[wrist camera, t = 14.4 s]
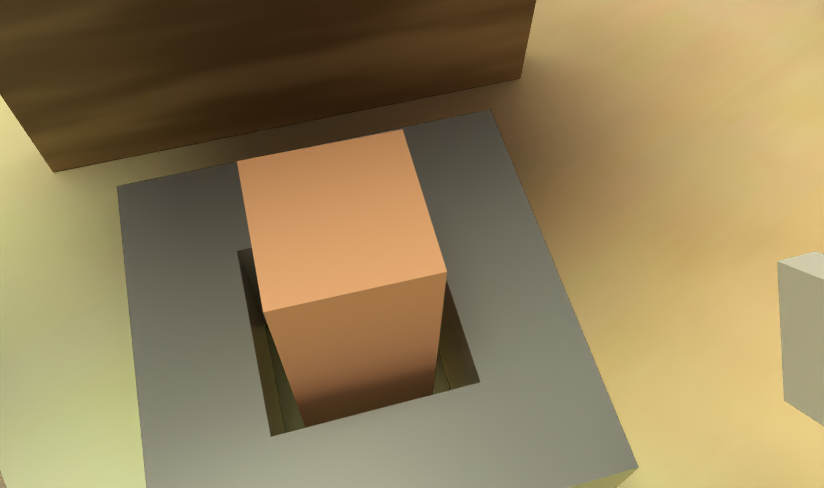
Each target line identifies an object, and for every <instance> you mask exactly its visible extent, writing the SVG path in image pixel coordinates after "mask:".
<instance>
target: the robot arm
mask: <svg viewBox="0 0 824 488" xmlns="http://www.w3.org/2000/svg"><path fill="white" fill-rule="evenodd" d="M777 266H778V286H779V307H780V327H781V348H782V368H783V388H784V401H786V402H787V403H789V404H790V405H792V406H793V407H795V408H796V409H798V410H800V411H801V412H803V413H804V414H806V415H807V416H809V417H810V418H812V419H813V420H815V421H816V422H818V423H819V424H821V425H823V426H824V254H822V253H819V252H816V251H815V252H811V253H807V254H803V255H799V256H795V257H792V258H788V259H784V260H780V261H777ZM0 488H6V485H5V483H4V480H3V477H2V475H1V472H0Z"/></svg>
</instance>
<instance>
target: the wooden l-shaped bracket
mask: <svg viewBox="0 0 824 488" xmlns="http://www.w3.org/2000/svg"><path fill="white" fill-rule="evenodd" d="M535 3H536V0H0V95H1V96H2V98H3V99H4V101H5V102H6V103H7V105H8V106H9V108H10V109H11V111H12V112H13V114H14V115H15V117H16V118H17V120H18V121H19V123H20V124H21V126H22V127H23V129H24V130H25V131H26V133H27V134H28V136H29V137H30V139H31V140H32V142H33V143H34V145H35V146H36V148H37V149H38V151H39V152H40V154H41V155H42V157H43V158H44V159H45V161H46V162H47V164H48V165H49V167H50V168H51V170H52V171H53V172H56V171H61V170H66V169H71V168H76V167H81V166H86V165H91V164H96V163H101V162H106V161H111V160H116V159H120V158H125V157H130V156H135V155H140V154H145V153H150V152H155V151H160V150H165V149H170V148H175V147H180V146H185V145H190V144H195V143H200V142H205V141H210V140H215V139H220V138H225V137H230V136H235V135H240V134H245V133H250V132H255V131H260V130H265V129H270V128H275V127H280V126H285V125H290V124H295V123H300V122H304V121H309V120H314V119H319V118H324V117H329V116H334V115H339V114H344V113H349V112H354V111H359V110H364V109H369V108H374V107H379V106H384V105H389V104H394V103H399V102H404V101H409V100H414V99H419V98H424V97H429V96H434V95H439V94H444V93H449V92H454V91H459V90H464V89H469V88H474V87H479V86H484V85H488V84H493V83H498V82H503V81H508V80H513V79H518V78H520V77H521V72H522V67H523V62H524V58H525V53H526V48H527V43H528V38H529V33H530V28H531V23H532V18H533V13H534V8H535Z"/></svg>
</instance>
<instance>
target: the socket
mask: <svg viewBox="0 0 824 488" xmlns="http://www.w3.org/2000/svg"><path fill="white" fill-rule="evenodd" d="M401 129H403V132H404V136H405V139H406V142H407V145H408V148H409V152H410V155H411V158H412V161H413V164H414V168H415V171H416V174H417V177H418V180H419V183H420V187H421V190H422V193H423V196H424V199H425V203H426V206H427V209H428V212H429V215H430V219H431V222H432V225H433V228H434V231H435V235H436V238H437V241H438V244H439V247H440V251H441V254H442V257H443V260H444V263H445V266H446V270H447V277H446V285H445V294H444V302H443V311H442V319H441V327H440V336H439V344H438V350H439V353H440V357H441V360H442V363H443V366H444V369H445V373H446V376H447V379H448V382H449V386H450V389H451V390H449V391H445V392H441V393H437V394H434V395H430V396H426V397H422V398H418V399H414V400H410V401H407V402H403V403H399V404H395V405H391V406H387V407H383V408H380V409H376V410H372V411H368V412H364V413H360V414H357V415H353V416H349V417H345V418H341V419H337V420H333V421H330V422H326V423H322V424H318V425H314V426H310V427H307V428H303V429H299V430H295V431H291V432H287V433H285V428H284V423H283V418H282V413H281V408H280V402H279V397H278V392H277V387H276V382H275V376H274V371H273V366H272V361H271V356H270V350H269V345H268V340H267V335H266V330H265V324H267V321H266V319H265V316H264V313H263V308H262V303H261V297H260V291H259V285H258V280H257V274H256V268H255V262H254V257H253V251H252V245H251V239H250V234H249V228H248V222H247V216H246V211H245V205H244V199H243V193H242V188H241V182H240V176H239V170H238V165H237V162H232V163H228V164H223V165H218V166H213V167H208V168H203V169H198V170H194V171H189V172H184V173H179V174H174V175H169V176H164V177H160V178H155V179H150V180H145V181H140V182H135V183H130V184H126V185H121V186H117V192H118V202H119V212H120V222H121V232H122V243H123V253H124V263H125V273H126V283H127V294H128V304H129V314H130V324H131V334H132V344H133V355H134V365H135V375H136V385H137V395H138V406H139V416H140V426H141V436H142V446H143V457H144V467H145V477H146V487H147V488H616V487H617V486H618V485H620V484H621V483H622V482H623V481H624V480H625V479H626V478H627V477H629V476H630V475H631V474H632V473H633V472H634V471H635V470H636V469H638V468H639V467H638V465H637V462H636V460H635V457H634V455H633V453H632V450H631V448H630V445H629V443H628V440H627V438H626V436H625V433H624V431H623V428H622V426H621V424H620V421H619V419H618V416H617V414H616V411H615V409H614V407H613V404H612V402H611V399H610V397H609V395H608V392H607V390H606V387H605V385H604V382H603V380H602V378H601V375H600V373H599V370H598V368H597V366H596V363H595V361H594V358H593V356H592V354H591V351H590V349H589V346H588V344H587V341H586V339H585V337H584V334H583V332H582V329H581V327H580V325H579V322H578V320H577V317H576V315H575V312H574V310H573V308H572V305H571V303H570V300H569V298H568V296H567V293H566V291H565V288H564V286H563V283H562V281H561V279H560V276H559V274H558V271H557V269H556V267H555V264H554V262H553V259H552V257H551V255H550V252H549V250H548V247H547V245H546V242H545V240H544V238H543V235H542V233H541V230H540V228H539V226H538V223H537V221H536V218H535V216H534V213H533V211H532V209H531V206H530V204H529V201H528V199H527V197H526V194H525V192H524V189H523V187H522V184H521V182H520V180H519V177H518V175H517V172H516V170H515V168H514V165H513V163H512V160H511V158H510V156H509V153H508V151H507V148H506V146H505V143H504V141H503V139H502V136H501V134H500V131H499V129H498V127H497V124H496V122H495V119H494V117H493V114H492V112H491V110H485V111H480V112H475V113H470V114H465V115H460V116H456V117H451V118H446V119H441V120H436V121H431V122H426V123H422V124H417V125H412V126H407V127H402V128H397V129H392V130H388V131H383V132H378V133H373V134H368V135H363V136H359V137H354V138H360V137H365V136H370V135H375V134H380V133H386V132H391V131H396V130H401ZM354 138H349V139H354ZM349 139H344V140H349ZM344 140H339V141H344ZM339 141H334V142H339ZM334 142H329V143H334ZM325 144H328V143H325ZM320 145H323V144H320ZM315 146H318V145H315ZM310 147H313V146H310ZM305 148H308V147H305ZM300 149H302V148H300ZM295 150H297V149H295ZM291 151H292V150H291ZM286 152H287V151H286ZM281 153H282V152H281ZM276 154H277V153H276Z"/></svg>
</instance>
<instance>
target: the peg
mask: <svg viewBox="0 0 824 488" xmlns="http://www.w3.org/2000/svg"><path fill="white" fill-rule="evenodd" d="M237 165H238V170H239V176H240V182H241V188H242V193H243V199H244V205H245V211H246V216H247V222H248V228H249V234H250V239H251V245H252V251H253V257H254V262H255V268H256V274H257V280H258V285H259V291H260V297H261V303H262V308H263V313H264V316H265V319H266V321H267V324H268V327H269V329H270V332H271V335H272V338H273V340H274V343H275V346H276V348H277V351H278V354H279V357H280V359H281V362H282V365H283V367H284V370H285V373H286V376H287V378H288V381H289V384H290V386H291V389H292V392H293V395H294V397H295V400H296V403H297V406H298V408H299V411H300V414H301V416H302V419H303V422H304V425H305V427H306V428H307V427H310V426H314V425H318V424H322V423H326V422H330V421H333V420H337V419H341V418H345V417H349V416H353V415H357V414H360V413H364V412H368V411H372V410H376V409H380V408H383V407H387V406H391V405H395V404H399V403H403V402H407V401H410V400H414V399H418V398H422V397H426V396H430V395H432V394H433V386H434V378H435V369H436V361H437V353H438V344H439V336H440V327H441V319H442V311H443V302H444V294H445V285H446V277H447V270H446V266H445V263H444V260H443V257H442V254H441V251H440V247H439V244H438V241H437V238H436V235H435V231H434V228H433V225H432V222H431V219H430V215H429V212H428V209H427V206H426V203H425V199H424V196H423V193H422V190H421V187H420V183H419V180H418V177H417V174H416V171H415V168H414V164H413V161H412V158H411V155H410V152H409V148H408V145H407V142H406V139H405V136H404V132H403V129H401V130H396V131H391V132H386V133H380V134H375V135H370V136H365V137H360V138H354V139H349V140H344V141H339V142H334V143H328V144H323V145H318V146H313V147H308V148H302V149H297V150H292V151H287V152H282V153H277V154H271V155H266V156H261V157H256V158H251V159H245V160H240V161H237Z"/></svg>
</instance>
